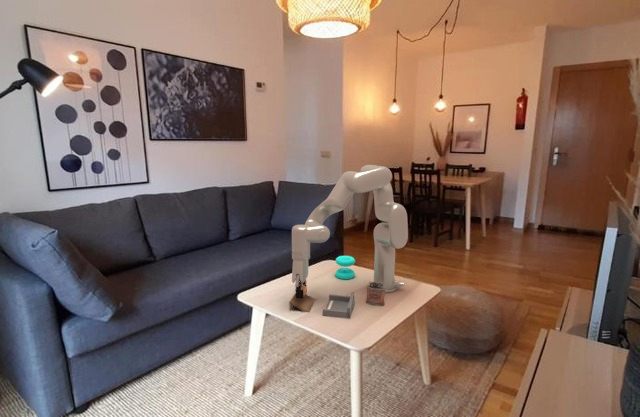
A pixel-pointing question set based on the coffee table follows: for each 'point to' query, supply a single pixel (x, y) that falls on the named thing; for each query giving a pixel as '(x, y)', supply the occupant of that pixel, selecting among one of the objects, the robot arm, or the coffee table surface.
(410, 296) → the coffee table surface
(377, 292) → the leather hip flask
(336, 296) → the box
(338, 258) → the donuts
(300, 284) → the ball
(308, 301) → the ramp
